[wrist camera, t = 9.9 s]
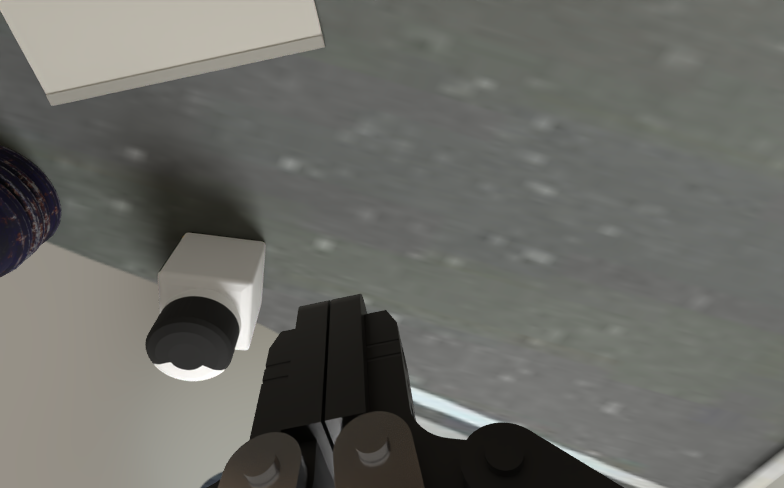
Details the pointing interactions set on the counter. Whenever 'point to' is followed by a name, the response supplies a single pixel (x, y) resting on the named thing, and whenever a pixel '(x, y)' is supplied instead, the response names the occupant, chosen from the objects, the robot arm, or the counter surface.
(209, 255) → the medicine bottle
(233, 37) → the mat
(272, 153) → the counter surface
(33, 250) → the storage jar
